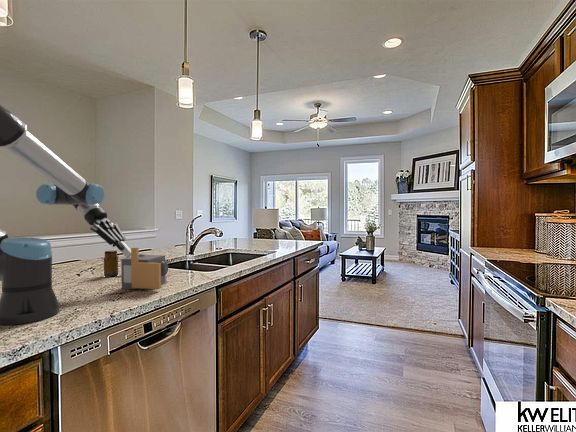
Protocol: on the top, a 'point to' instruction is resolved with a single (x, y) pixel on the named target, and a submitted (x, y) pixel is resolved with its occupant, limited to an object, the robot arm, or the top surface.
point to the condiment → (111, 264)
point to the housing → (142, 258)
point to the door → (144, 272)
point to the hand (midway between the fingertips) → (129, 255)
